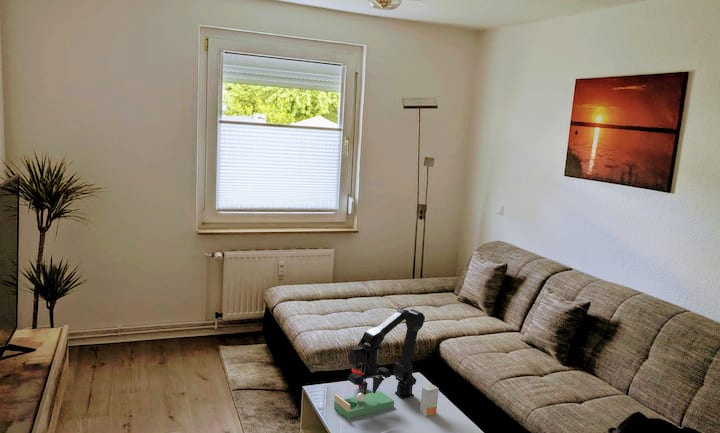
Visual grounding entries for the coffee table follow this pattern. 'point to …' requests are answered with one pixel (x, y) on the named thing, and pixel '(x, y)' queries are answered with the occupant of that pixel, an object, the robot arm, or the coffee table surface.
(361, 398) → the ball
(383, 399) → the putting mat
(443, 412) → the coffee table surface
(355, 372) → the gemstone
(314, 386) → the coffee table surface
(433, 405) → the skincare box
